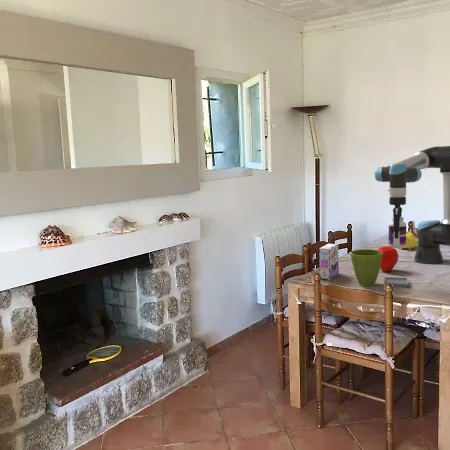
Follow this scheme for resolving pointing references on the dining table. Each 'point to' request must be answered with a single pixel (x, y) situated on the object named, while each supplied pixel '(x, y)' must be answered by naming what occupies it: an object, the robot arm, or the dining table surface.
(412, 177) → the robot arm
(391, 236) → the pill bottle
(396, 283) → the socket plate
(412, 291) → the dining table surface
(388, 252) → the apple
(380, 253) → the flower pot
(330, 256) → the candy box
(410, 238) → the teapot
